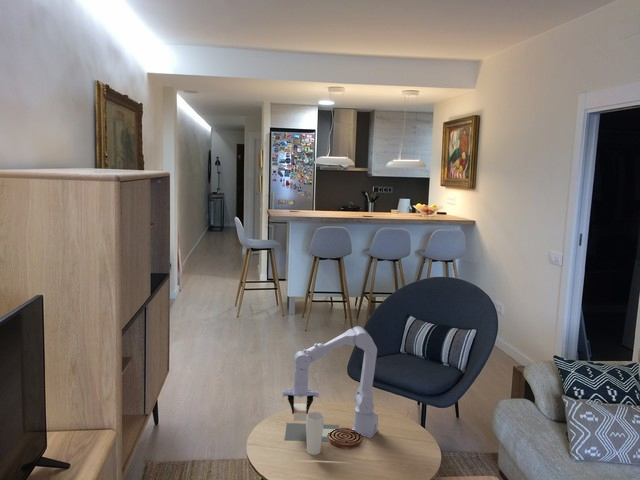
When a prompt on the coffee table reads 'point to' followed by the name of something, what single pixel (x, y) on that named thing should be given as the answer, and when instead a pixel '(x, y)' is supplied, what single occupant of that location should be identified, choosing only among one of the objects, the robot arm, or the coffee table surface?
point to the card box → (299, 412)
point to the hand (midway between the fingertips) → (299, 412)
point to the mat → (299, 432)
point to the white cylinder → (314, 432)
